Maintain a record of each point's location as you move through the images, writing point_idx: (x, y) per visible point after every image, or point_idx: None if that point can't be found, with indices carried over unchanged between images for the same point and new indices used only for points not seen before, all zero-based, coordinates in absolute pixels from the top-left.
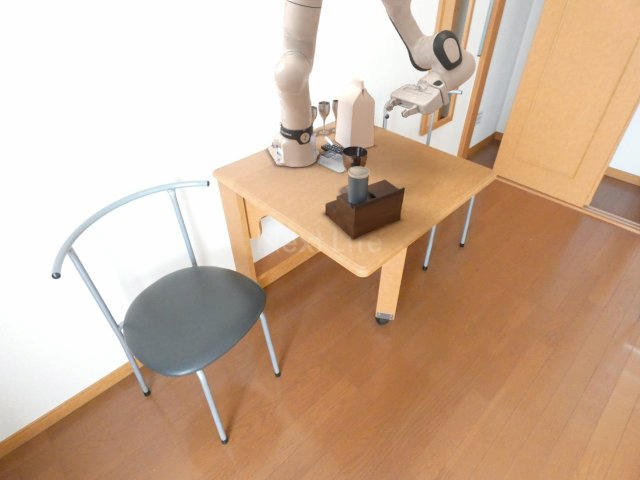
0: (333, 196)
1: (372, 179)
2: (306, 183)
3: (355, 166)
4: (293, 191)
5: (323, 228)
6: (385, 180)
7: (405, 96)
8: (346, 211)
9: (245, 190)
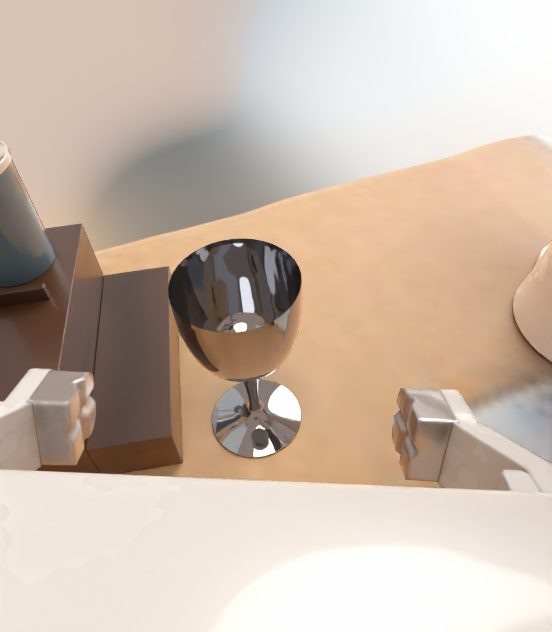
0: None
1: None
2: (381, 298)
3: (2, 161)
4: (343, 257)
5: None
6: None
7: (341, 525)
8: None
9: (392, 172)
